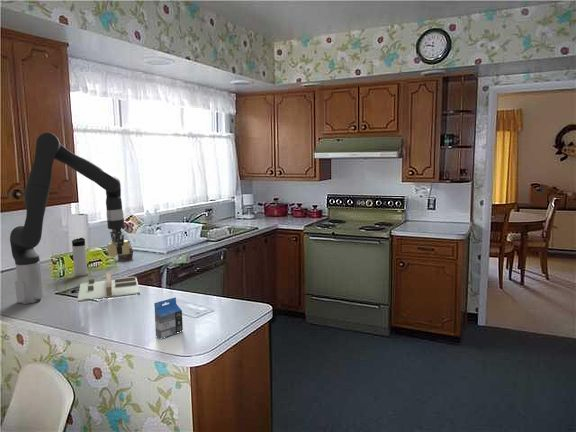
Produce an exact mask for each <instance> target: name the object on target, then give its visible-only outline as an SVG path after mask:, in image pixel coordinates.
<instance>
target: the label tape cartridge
mask: <svg viewBox="0 0 576 432" xmlns="http://www.w3.org/2000/svg"><path fill="white" fill-rule="evenodd" d="M154 325H155V327H154V329H155V337H156V336H157V337H156V338H158V337H159V338H158V339H160V338H164V337H166V338H168V337H167V336H169V335H172V334H175V333H177V332H180V331H182V330H183V331H184V325H183V310H182V309H181V307H180V306H179V305H178V304H177V297H173V298H169V299H164V300H161V301H157V302H154ZM175 335H176V334H175ZM172 336H173V335H172ZM169 337H170V336H169ZM164 339H165V338H164Z"/></svg>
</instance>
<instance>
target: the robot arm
mask: <svg viewBox="0 0 576 432" xmlns="http://www.w3.org/2000/svg"><path fill="white" fill-rule="evenodd" d="M55 160H56V161H59V162H60V163H63V164H64V165H66V166H67V167H70V168H71V169H72V170H73V171H74V170H75V171H76V172H78V173H79V174H80V175H82V176H84V177H86V178H87V179H88V180H90V181H92V182H94V183H96V184H97V186H99V187H101V188H102V189H103V190H105V194H106V199H105V206H106V207H105V208H106V224H107V229H108V230H111V231H110V232H109V233H110V239H111V242H116V246H117V254H118V255H119V254H122V246H123V245H124V239H125V235H124V234H123V232H122V230H121V229H124V228H125V218H124V217H125V216H124V215H125V214H124V211H123V201H122V187H121V186H122V185H121V180H120V179H119V178H118V177H116V176H113V175H110V174H109V173H107V172H106V171H104V170H103V169H102V168H101V167H100V166H98V165H96V164H94V162H91V161H89V160H88V159H86V158H84V157H81V156H79V155H77V154H75V153H74V152H72V151H71V150H69V149H67V147H65V146H64V145H63V144H61V143H60V139H59V138H58V136H57V135H55V134H53V133H52V132H47V131H46V132H43V133H41V134H40V135H39V136H38V137H37V138H36V141H35V152H34V158H33V163H32V166H31V169H30V171H29V176H28V178H27V182H26V185H25V190H24V193H23V194H24V195H23V196H24V205H25V209H26V211H25V212H26V217H25V221H24V223H23V225H20V226H19V225H18V226H16V227H14V228H13V229H12V230H11V232H10V235H9V242H10V248H11V255H12V258H13V260H14V263H15V274H16V280H15V281H14V285H15V295H16V302H17V303H19V304H23V305H28V304H33V303H36V302H37V303H38V302H40V301H41V300H42V298H44V291H43V282H42V272H41V271H42V270H41V262H40V255H39V254H38V253H37V252H36V251H35V249H34V248H35V247H37V246H38V245H39V243H40V242H41V240H42V233H43V226H44V225H43V224H44V217H45V212H46V208H47V205H48V204H47V203H48V200H49V195H50V193H51V192H50V191H51V187H52V175H53V164H54V161H55ZM119 243H120V244H119Z"/></svg>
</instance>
